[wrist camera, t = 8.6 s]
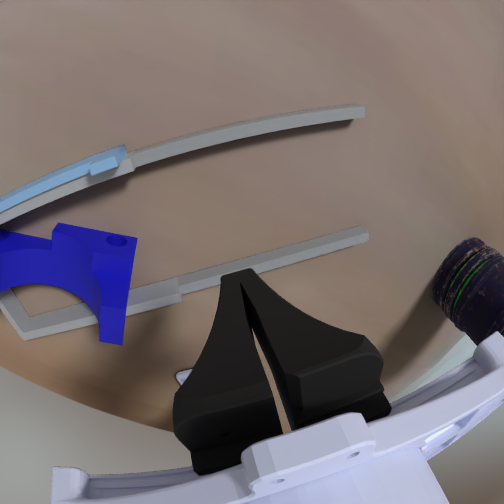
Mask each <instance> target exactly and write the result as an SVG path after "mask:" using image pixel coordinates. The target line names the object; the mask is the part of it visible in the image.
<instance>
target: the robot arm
mask: <svg viewBox="0 0 504 504" xmlns="http://www.w3.org/2000/svg"><path fill="white" fill-rule="evenodd" d="M220 281H221V286H220V296H219V301H218V307H217V311H216V315H215V319H214V322H213V326H212V329H211V332H210V334H209V337H208V340H207V342H206V344H205V346H204V349H203V351H202V353H201V355H200V357H199V359H198V361H197V362H196V364H195V366H194V367H193V369H189V370H185V371H181V372H178V373H176V378H177V380H178V381H179V383H180V384H181V386H180V388H179V389H178V391H177V392H176V393H175V397H174V403H173V426H174V434H175V435H176V437H177V438H178V440H179V441H181V443H182V444H183V445H184V446H185V447H186V448H187V449H188V450H190V452H191V459H192V465H193V466H191V467H184V468H178V469H170V470H162V471H153V472H142V473H129V474H110V475H109V474H108V475H89V474H88V473H86V472H85V471H83V470H81V469H79V468H75V467H53V468H52V482H51V504H449V502H448V500H447V498H446V496H445V494H444V492H443V491H442V489H441V487H440V485H439V484H438V482H437V480H436V478H435V476H434V474H433V472H432V471H431V469H430V467H429V465H428V463H427V462H426V461H427V460H429V459H430V458H432V457H433V456H435V455H436V454H438V453H439V452H441V451H442V450H443V449H445V448H446V447H448V446H449V445H451V444H452V443H453V442H455V441H456V440H457V439H459V438H460V437H461V436H463V435H464V434H465V433H467V432H468V431H469V430H471V429H472V428H473V427H474V426H476V425H477V424H478V423H479V422H481V421H482V420H483V419H484V418H486V417H487V416H488V415H489V414H490V413H492V412H493V411H494V410H495V409H496V408H498V407H499V406H500V405H501V404H502V403H503V402H504V337H503V336H502V335H501V334H500V333H499V332H498V331H496V332H495V333H493V334H492V335H490V336H489V337H488V338H486V339H485V340H483V341H482V342H481V343H480V344H479V345H478V346H477V348H476V349H475V352H474V354H473V356H472V357H471V358H469V359H468V360H466V361H465V362H463V363H462V364H460V365H459V366H457V367H455V368H454V369H452V370H451V371H449V372H447V373H446V374H444V375H442V376H441V377H439V378H437V379H435V380H434V381H432V382H430V383H428V384H427V385H425V386H423V387H421V388H419V389H418V390H416V391H414V392H412V393H410V394H408V395H406V396H404V397H402V398H400V399H398V400H397V401H394V402H392V403H389V402H388V400H387V398H386V397H385V395H384V393H383V391H384V387H383V386H382V384H381V382H380V381H379V380H380V376H381V372H382V368H383V358H382V356H381V354H380V353H379V351H378V350H377V349H376V347H375V346H374V345H373V344H372V343H371V342H370V341H369V340H368V339H367V338H366V337H365V336H364V335H360V334H356V333H353V332H349V331H345V330H342V329H339V328H336V327H333V326H331V325H328V324H326V323H324V322H322V321H319V320H317V319H315V318H313V317H311V316H309V315H308V314H306V313H304V312H302V311H301V310H299V309H297V308H296V307H294V306H293V305H291V304H290V303H289V302H287V301H286V300H285V299H283V298H282V297H281V296H279V295H278V294H277V293H276V292H275V291H274V290H272V289H271V288H270V287H269V286H268V285H267V284H266V283H265V282H264V281H263V280H262V279H261V278H260V277H259V276H258V275H257V274H256V272H255V271H254V270H253V269H252V268H247V269H244V270H240V271H236V272H233V273H229V274H226V275H222V277H221V278H220ZM251 326H252V327H251ZM252 329H253V331H254V333H255V335H256V338H257V340H258V342H259V344H260V347H261V349H262V351H263V353H264V355H265V357H266V360H267V362H268V364H269V366H270V369H271V371H272V374H273V377H274V380H275V383H276V386H277V389H278V392H279V395H280V398H281V400H282V403H283V406H284V409H285V412H286V415H287V418H288V421H289V424H290V427H291V430H292V431H291V432H288V433H285V434H283V432H282V427H281V423H280V420H279V416H278V412H277V408H276V405H275V401H274V397H273V394H272V391H271V388H270V385H269V382H268V379H267V376H266V374H265V371H264V368H263V366H262V363H261V360H260V357H259V355H258V352H257V349H256V346H255V341H254V336H253V331H252Z"/></svg>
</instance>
